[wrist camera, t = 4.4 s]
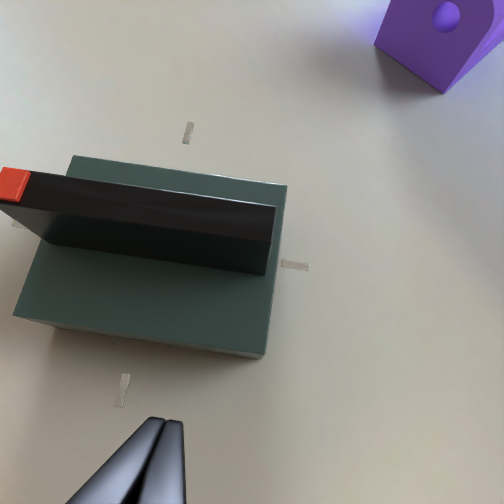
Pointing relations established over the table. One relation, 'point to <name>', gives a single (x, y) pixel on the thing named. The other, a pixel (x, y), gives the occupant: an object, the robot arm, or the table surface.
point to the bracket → (441, 36)
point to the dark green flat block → (157, 277)
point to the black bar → (140, 220)
